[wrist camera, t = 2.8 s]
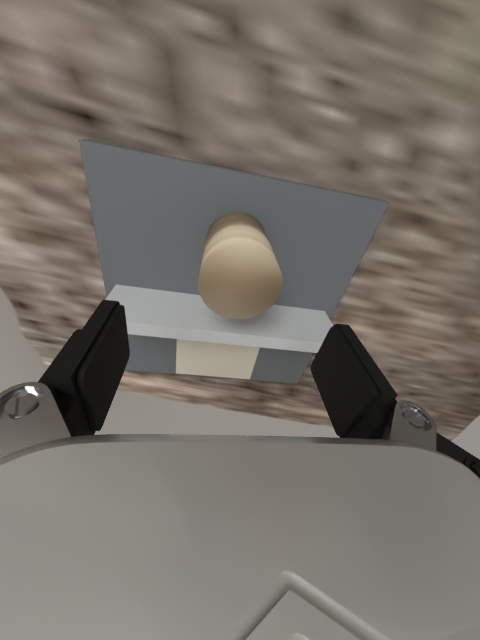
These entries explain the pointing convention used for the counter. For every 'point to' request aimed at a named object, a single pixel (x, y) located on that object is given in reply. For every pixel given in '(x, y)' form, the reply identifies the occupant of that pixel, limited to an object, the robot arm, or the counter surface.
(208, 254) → the birch cylinder
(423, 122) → the counter surface
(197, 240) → the fence board
